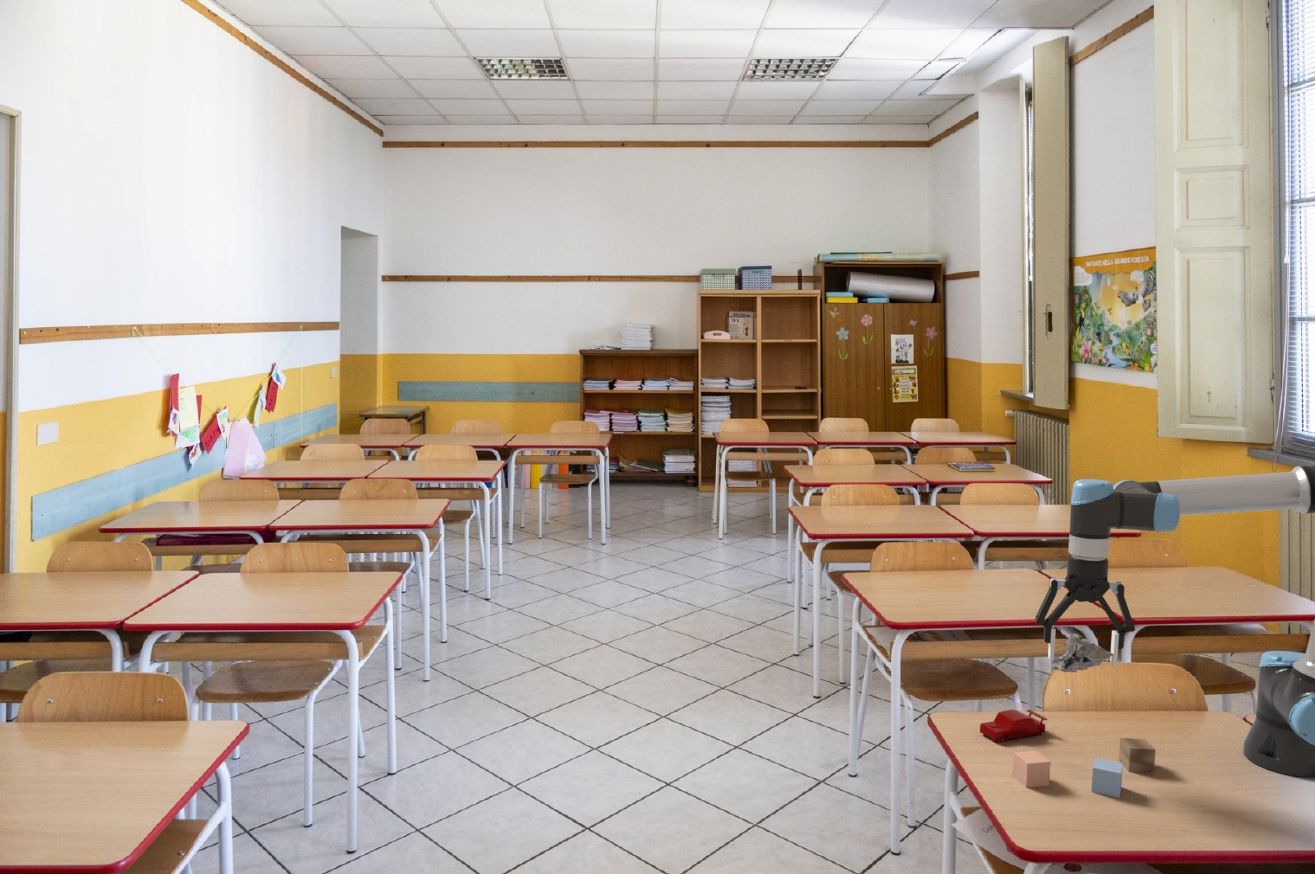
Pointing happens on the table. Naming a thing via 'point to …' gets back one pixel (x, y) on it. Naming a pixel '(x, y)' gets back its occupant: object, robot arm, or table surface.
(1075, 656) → the mineral specimen
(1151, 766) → the walnut cube
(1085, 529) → the robot arm
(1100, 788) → the slate-blue cube
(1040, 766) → the salmon-pink cube
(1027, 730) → the toy car
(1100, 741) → the table surface
